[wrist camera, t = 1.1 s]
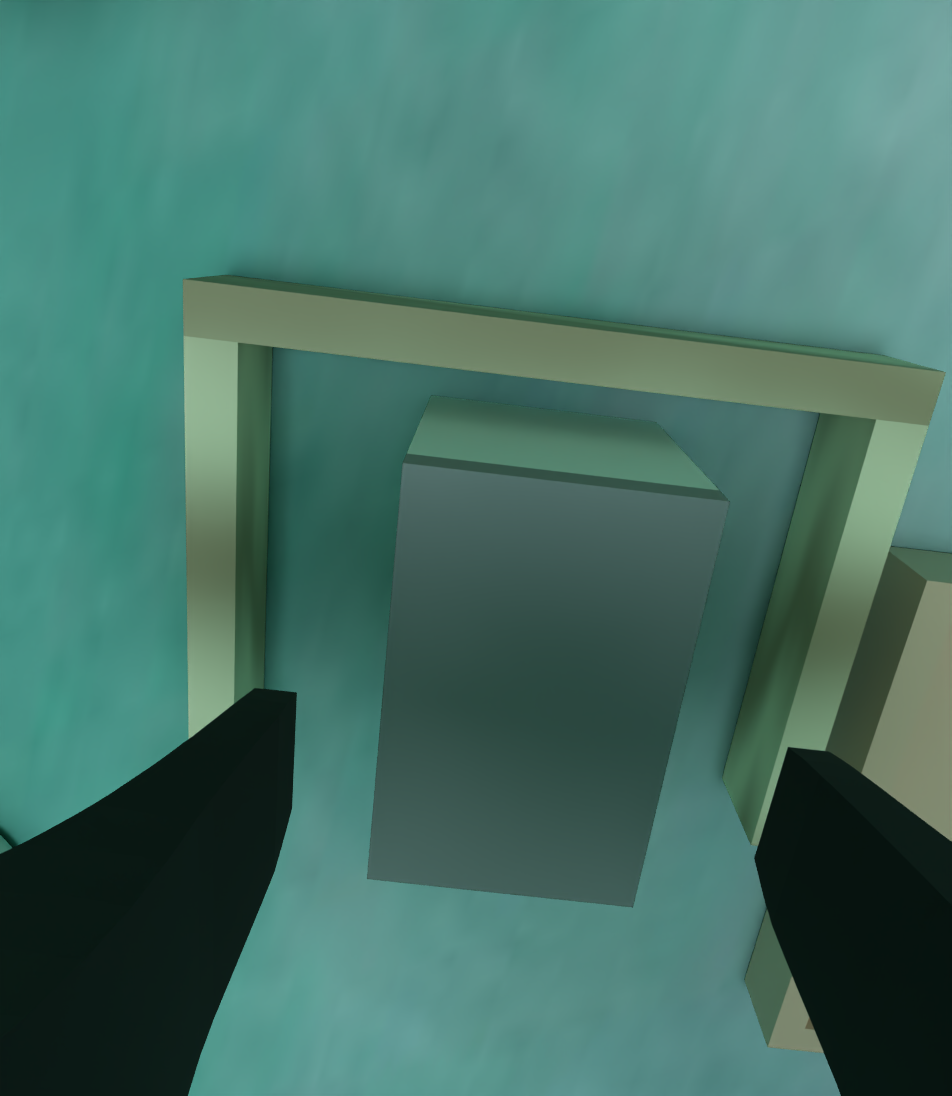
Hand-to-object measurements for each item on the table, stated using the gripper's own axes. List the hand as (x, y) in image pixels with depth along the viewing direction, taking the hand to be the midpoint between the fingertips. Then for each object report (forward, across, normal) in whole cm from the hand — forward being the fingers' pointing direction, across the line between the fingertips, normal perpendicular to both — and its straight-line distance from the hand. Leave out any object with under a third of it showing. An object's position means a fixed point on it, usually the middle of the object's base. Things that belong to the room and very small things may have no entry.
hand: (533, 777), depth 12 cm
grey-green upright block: (+8, 0, 0) cm, 8 cm away
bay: (+8, 0, 0) cm, 8 cm away
